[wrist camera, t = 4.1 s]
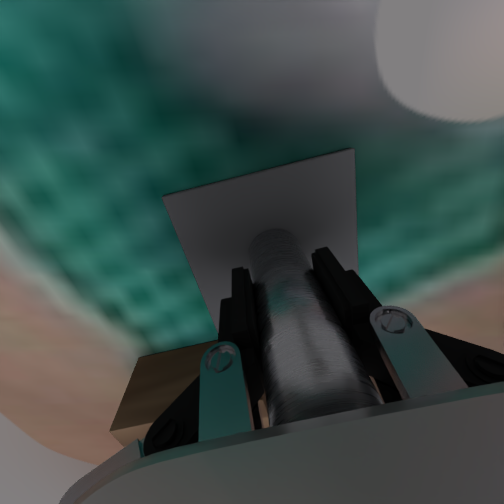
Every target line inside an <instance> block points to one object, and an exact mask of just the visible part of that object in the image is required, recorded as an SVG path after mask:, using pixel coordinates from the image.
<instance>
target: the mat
mask: <svg viewBox="0 0 504 504" xmlns="http://www.w3.org/2000/svg"><path fill="white" fill-rule="evenodd" d="M162 200H163V202H164V205H165V207H166V209H167V212H168V214H169V217H170V219H171V221H172V224H173V226H174V229H175V231H176V233H177V236H178V238H179V241H180V243H181V245H182V248H183V250H184V253H185V255H186V257H187V260H188V262H189V265H190V267H191V269H192V272H193V274H194V277H195V279H196V281H197V284H198V286H199V289H200V291H201V293H202V296H203V298H204V301H205V303H206V305H207V308H208V310H209V313H210V315H211V317H212V320H213V322H214V325H215V327H216V329H217V332H219V317H220V302H221V299H225V298H229V297H231V288H232V269H234V268H238V267H242V266H243V267H244V269H247V268H248V269H249V273H250V276H251V269H250V260H249V248H250V245H251V243H252V241H253V240H254V239H255V238H256V237H257V236H258V235H259V234H261V233H262V232H264V231H267V230H271V229H282V230H286V231H288V232H290V233H291V234H293V235H294V236H295V237H296V239H297V240H298V242H299V244H300V246H301V248H302V250H303V252H304V254H305V256H306V257H307V259H308V261H309V263H310V265H311V267H312V269H313V264H312V257H311V254H312V253H315V249H318V248H323V247H328V248H329V249H330V251H331V252H332V253H333V255H334V256H335V257H336V259H337V260H338V262H339V263H340V264H341V266H342V267H343V268H344V270H345V271H347V270H351V269H352V270H354V271H355V272H356V273H357V275H358V244H357V213H356V181H355V149H354V148H348V149H345V150H341V151H337V152H333V153H329V154H325V155H321V156H317V157H313V158H309V159H305V160H301V161H297V162H293V163H290V164H286V165H282V166H278V167H274V168H270V169H266V170H262V171H258V172H254V173H250V174H246V175H242V176H239V177H235V178H231V179H227V180H223V181H219V182H215V183H211V184H207V185H203V186H199V187H195V188H191V189H188V190H184V191H180V192H176V193H172V194H168V195H164V196H163V197H162ZM251 280H252V277H251Z"/></svg>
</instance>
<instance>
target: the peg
mask: <svg viewBox="0 0 504 504" xmlns="http://www.w3.org/2000/svg"><path fill="white" fill-rule="evenodd" d="M249 260H250V269H251V277H252V283H253V290H254V298H255V306H256V315H257V323H258V331H259V339H260V347H261V361H262V369H263V378H264V386H265V395H266V403H267V412H268V420H269V427H272V426H277V425H282V424H287V423H292V422H297V421H301V420H306V419H311V418H316V417H321V416H326V415H331V414H336V413H341V412H346V411H351V410H356V409H361V408H366V407H371V406H376V405H381V404H384V403H383V401H382V399H381V398H380V396H379V394H378V392H377V390H376V388H375V386H374V384H373V382H372V380H371V379H370V377H369V375H368V373H367V371H366V369H365V367H364V365H363V363H362V362H361V360H360V358H359V356H358V354H357V352H356V350H355V348H354V346H353V345H352V343H351V341H350V339H349V337H348V335H347V333H346V331H345V329H344V328H343V326H342V324H341V322H340V320H339V318H338V316H337V314H336V312H335V311H334V309H333V307H332V305H331V303H330V301H329V299H328V297H327V295H326V293H325V292H324V290H323V288H322V286H321V284H320V282H319V280H318V278H317V276H316V275H315V273H314V271H313V269H312V267H311V265H310V263H309V261H308V259H307V257H306V256H305V254H304V252H303V250H302V248H301V246H300V244H299V242H298V240H297V239H296V237H295V236H294V235H293V234H291V233H290V232H288V231H286V230H282V229H271V230H267V231H264V232H262V233H261V234H259V235H258V236H257V237H256V238H255V239H254V240H253V241H252V243H251V245H250V248H249Z"/></svg>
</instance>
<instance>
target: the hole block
mask: <svg viewBox="0 0 504 504" xmlns="http://www.w3.org/2000/svg"><path fill="white" fill-rule="evenodd" d="M216 343H218V340H216V341H212V342H207V343H203V344H198V345H194V346H189V347H185V348H180V349H176V350H171V351H167V352H162V353H158V354H153V355H149V356H144V357H140V358H138V361H137V363H136V366H135V368H134V371H133V373H132V376H131V378H130V381H129V383H128V386H127V388H126V391H125V393H124V396H123V398H122V401H121V403H120V406H119V408H118V411H117V413H116V416H115V418H114V421H113V423H112V426H111V428H110V431H109V432H110V433H111V434H112V435H113V436H114V437H115V438H116V439H117V440H118V441H119V442H120V443H121V444H122V445H123V446H124V447H126V446H127V445H129V444H130V443H132V442H133V441H134V440H136V439H137V438H138V439H139V441H140V440H142V439H143V438H144V437H145V436H146V434H147V432H148V430H149V428H150V426H151V425H152V424H153V423H154V421H155V420H156V419H157V418H158V417H159V416H160V415H161V414H162V413H163V412H164V411H165V410H166V409H167V408H168V407H169V406H170V405H171V404H172V403H173V401H174V400H175V399H176V398H177V397H178V396H179V395H180V394H181V393H182V392H183V391H184V390H185V389H186V388H187V387H188V386H189V385H190V384H191V383H192V382H193V381H194V380H195V379H196V378H197V377H198V376H199V374H200V363H201V358H202V356H203V355H204V353H205V352H206V351H207V349H208V348H210V347H211V346H212V345H214V344H216ZM259 404H260V409H261V414H262V419H263V425H264V428H267V427H269V420H268V412H267V403H266V395H265V393H264V394H263V395H262V397H261V398H260V399H259Z"/></svg>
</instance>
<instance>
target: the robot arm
mask: <svg viewBox="0 0 504 504" xmlns="http://www.w3.org/2000/svg"><path fill="white" fill-rule="evenodd" d="M311 257H312V264H313V271H314V273H315V275H316V276H317V278H318V280H319V282H320V284H321V286H322V288H323V290H324V292H325V293H326V295H327V297H328V299H329V301H330V303H331V305H332V307H333V309H334V311H335V312H336V314H337V316H338V318H339V320H340V322H341V324H342V326H343V328H344V329H345V331H346V333H347V335H348V337H349V339H350V341H351V343H352V345H353V346H354V348H355V350H356V352H357V354H358V356H359V358H360V360H361V362H362V363H363V365H364V367H365V369H366V371H367V373H368V375H369V376H370V379H371V380H372V382H373V384H374V386H375V388H376V390H377V392H378V394H379V396H380V398H381V399H382V401H383V403H384V404H381V405H376V406H371V407H366V408H361V409H356V410H351V411H346V412H341V413H336V414H331V415H326V416H321V417H316V418H311V419H306V420H301V421H297V422H292V423H287V424H282V425H277V426H272V427H267V428H264V425H263V419H262V414H261V409H260V404H259V399H260V398H261V397H262V395H263V394H264V393H265V386H264V378H263V369H262V361H261V347H260V339H259V331H258V323H257V315H256V306H255V298H254V290H253V283H252V280H251V276H250V273H249V269H248V268H247V269H244V267H243V266H242V267H238V268H234V269H232V288H231V297H229V298H225V299H221V302H220V317H219V332H218V343H216V344H214V345H212V346H211V347H210V348H208V349H207V351H206V352H205V353H204V355H203V356H202V358H201V363H200V374H199V376H198V377H197V378H196V379H195V380H194V381H193V382H192V383H191V384H190V385H189V386H188V387H187V388H186V389H185V390H184V391H183V392H182V393H181V394H180V395H179V396H178V397H177V398H176V399H175V400H174V401H173V403H172V404H171V405H170V406H169V407H168V408H167V409H166V410H165V411H164V412H163V413H162V414H161V415H160V416H159V417H158V418H157V419H156V420H155V421H154V423H153V424H152V425H151V426H150V428H149V430H148V432H147V434H146V436H145V437H144V438H143V439H142V440H140V441H139V439H138V438H137V439H136V440H134V441H133V442H132V443H130V444H129V445H127V446H126V447H124V448H123V449H122V450H120V451H119V452H117V453H116V454H115V455H113V456H112V457H110V458H109V459H108V460H106V461H105V462H103V463H102V464H101V465H99V466H98V467H96V468H95V469H93V470H92V471H91V472H89V473H88V474H86V475H85V476H84V477H82V478H81V479H79V480H78V481H77V482H76V483H75V484H74V485H73V486H71V487H70V488H69V489H68V491H67V492H66V493H65V495H64V496H63V497H62V499H61V500H60V503H59V504H504V354H501V353H499V352H496V351H494V350H491V349H488V348H484V347H481V346H478V345H475V344H472V343H469V342H465V341H462V340H459V339H456V338H453V337H450V336H447V335H443V334H440V333H437V332H434V331H431V330H428V329H424V328H423V326H422V325H421V324H420V322H419V321H418V320H417V318H416V317H415V316H414V315H413V314H412V313H411V312H409V311H407V310H406V309H403V308H400V307H397V306H382V305H381V304H380V302H379V301H378V300H377V299H376V297H375V296H374V295H373V294H372V292H371V291H370V290H369V289H368V287H367V286H366V285H365V284H364V282H363V281H362V280H361V279H360V277H359V276H358V275H357V273H356V272H355V271H354V270H352V269H351V270H347V271H345V270H344V268H343V267H342V266H341V264H340V263H339V262H338V260H337V259H336V257H335V256H334V255H333V253H332V252H331V251H330V249H329V248H328V247H323V248H318V249H315V253H312V254H311Z"/></svg>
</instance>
